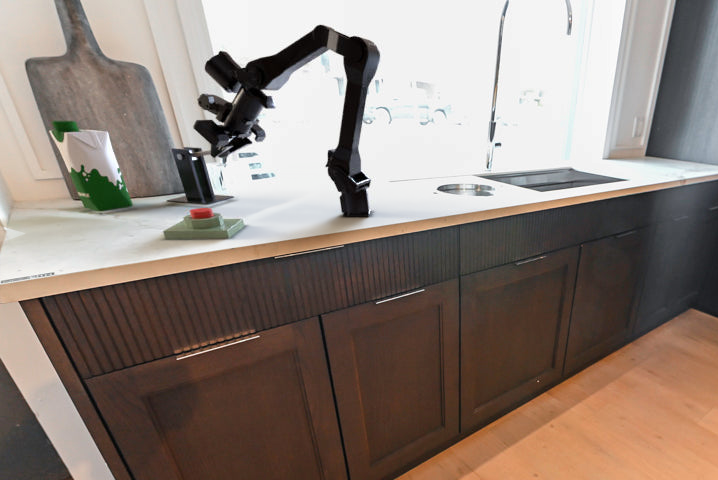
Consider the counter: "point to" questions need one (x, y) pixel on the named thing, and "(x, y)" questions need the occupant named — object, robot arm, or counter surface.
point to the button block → (204, 228)
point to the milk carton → (91, 166)
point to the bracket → (194, 179)
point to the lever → (196, 154)
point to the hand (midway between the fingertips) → (218, 155)
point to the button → (201, 213)
